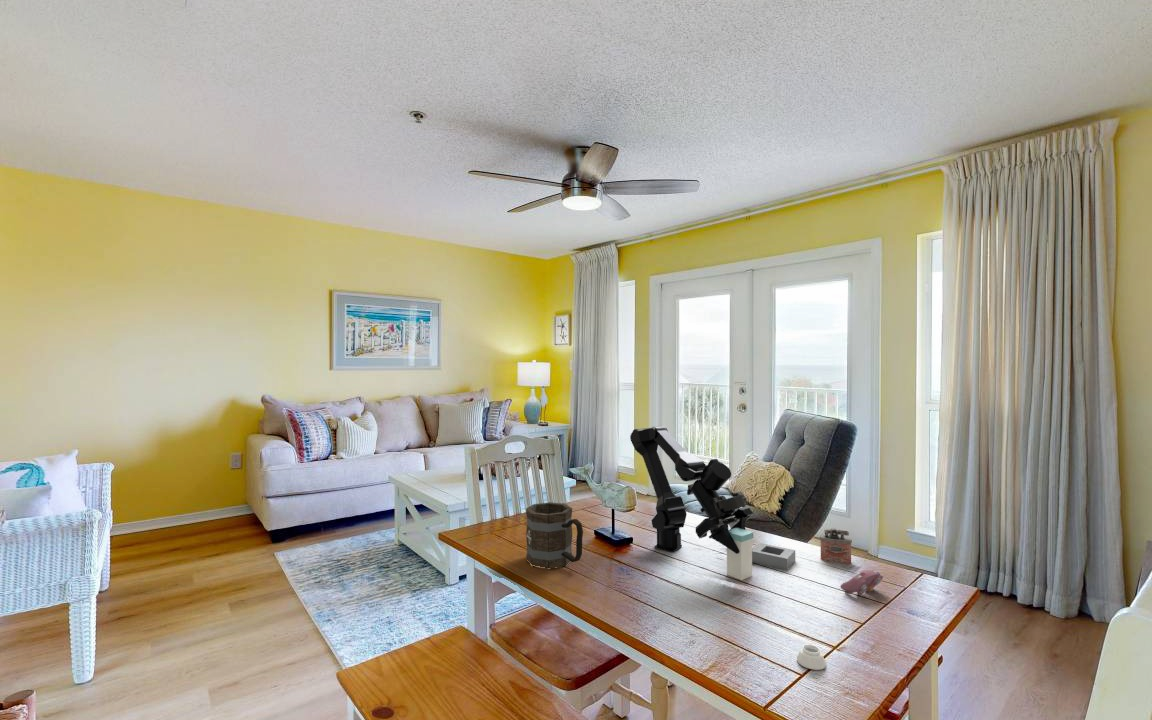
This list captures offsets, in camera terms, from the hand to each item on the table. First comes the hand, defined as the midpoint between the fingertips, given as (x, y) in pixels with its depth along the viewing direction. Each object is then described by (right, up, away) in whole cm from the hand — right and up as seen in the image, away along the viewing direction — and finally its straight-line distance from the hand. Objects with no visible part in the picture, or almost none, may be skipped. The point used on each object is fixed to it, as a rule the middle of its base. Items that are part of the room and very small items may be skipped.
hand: (743, 550), depth 136 cm
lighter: (+29, -8, +11) cm, 32 cm away
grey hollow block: (+12, -7, +11) cm, 17 cm away
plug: (-1, -7, +1) cm, 7 cm away
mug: (-49, -8, +13) cm, 52 cm away
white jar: (+1, -8, -37) cm, 38 cm away
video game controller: (+27, -8, -7) cm, 29 cm away
